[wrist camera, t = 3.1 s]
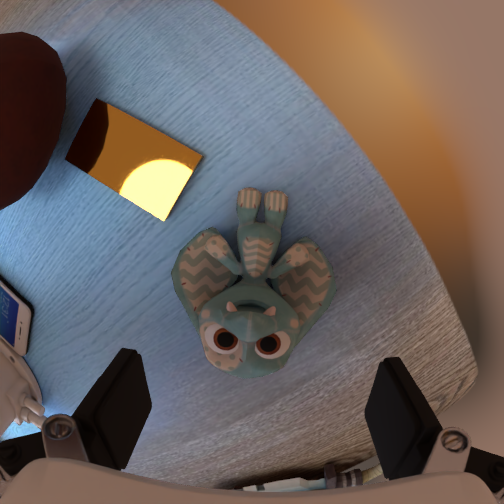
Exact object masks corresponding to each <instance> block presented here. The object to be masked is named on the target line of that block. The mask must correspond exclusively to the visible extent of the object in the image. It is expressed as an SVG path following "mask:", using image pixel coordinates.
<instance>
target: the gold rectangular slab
mask: <svg viewBox="0 0 504 504" xmlns="http://www.w3.org/2000/svg"><path fill="white" fill-rule="evenodd" d="M203 157H204V156H202V155H200V154H199V153H197V152H195V151H193V150H192V149H190V148H188V147H187V146H185V145H183V144H181V143H180V142H178V141H176V140H174V139H173V138H171V137H169V136H167V135H165V134H164V133H162V132H160V131H158V130H156V129H155V128H153V127H151V126H149V125H147V124H145V123H144V122H142V121H140V120H138V119H136V118H134V117H132V116H131V115H129V114H127V113H125V112H123V111H121V110H119V109H117V108H115V107H113V106H112V105H110V104H108V103H106V102H104V101H102V100H100V99H97V98H96V99H95V101H94V102H93V104H92V106H91V108H90V109H89V111H88V113H87V115H86V117H85V118H84V120H83V122H82V124H81V126H80V128H79V130H78V132H77V134H76V136H75V138H74V140H73V142H72V144H71V146H70V148H69V150H68V153H67V155H66V157H65V160H67V161H68V162H70V163H71V164H73V165H75V166H76V167H78V168H79V169H81V170H82V171H84V172H86V173H87V174H89V175H90V176H92V177H94V178H95V179H97V180H98V181H100V182H101V183H103V184H105V185H106V186H108V187H109V188H111V189H113V190H114V191H116V192H117V193H119V194H121V195H122V196H124V197H126V198H127V199H129V200H130V201H132V202H134V203H135V204H137V205H138V206H140V207H142V208H143V209H145V210H147V211H148V212H150V213H151V214H153V215H155V216H156V217H158V218H160V219H161V220H163V221H165V220H166V219H168V217H169V215H170V213H171V211H172V210H173V208H174V206H175V204H176V203H177V201H178V199H179V197H180V196H181V194H182V192H183V190H184V189H185V187H186V185H187V184H188V182H189V180H190V179H191V177H192V175H193V174H194V172H195V170H196V169H197V167H198V165H199V164H200V162H201V161H202V159H203Z"/></svg>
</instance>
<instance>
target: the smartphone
mask: <svg viewBox="0 0 504 504" xmlns="http://www.w3.org/2000/svg"><path fill="white" fill-rule="evenodd" d="M33 314H34V309H33V307H32V305H31V304H30V303H29V302H28V301H27V300H26V299H25V298H24V297H22V296H21V295H20V294H19V293H18V292H17V291H16V290H15V289H14V288H13V287H12V286H11V285H10V284H9V283H8V282H7V281H6V280H4V279H3V278H2V277H1V276H0V337H1V338H2V339H3V340H4V341H5V342H6V343H7V344H8V345H9V346H10V347H11V348H12V349H13V350H15V351H16V352H17V353H18V354H19V355H20V356H25V355H26V354H27V352H28V346H29V339H30V332H31V325H32V319H33Z"/></svg>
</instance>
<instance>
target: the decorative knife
mask: <svg viewBox="0 0 504 504" xmlns="http://www.w3.org/2000/svg"><path fill="white" fill-rule="evenodd" d="M382 473H383V471H382V468H381V464H380V463H379V464H378V465H377V466H375V467H372V468H370V469H368V470H364V471H361V470H360V469H354V470H352V471H349V472H347V473H336V472H335V468H334V464H328V465H325V466H324V478H322V479H321V478H320V477H317V478H315V479H313V480H309V481H307V480H305V479H302V478H300V477H299V478H293V479H287V480H281V481H275V482H271V483H266V484H264V485H260V486H256V485H254V486H248V487H240V486H235V487H234V489H228V490H237V491H257V492H293V491H314V490H327V489H337V488H345V487H353V486H360V485H363V483H365V482H367V481H369V480H370V479H372V478H374V477H376V476H378V475H380V474H382Z"/></svg>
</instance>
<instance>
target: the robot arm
mask: <svg viewBox="0 0 504 504" xmlns="http://www.w3.org/2000/svg"><path fill="white" fill-rule="evenodd" d="M151 408H152V402H151V398H150V393H149V389H148V385H147V381H146V376H145V371H144V367H143V362H142V357H141V355H140V354H138V353H137V351H136V350H133V349H127V348H122V349H121V350H120V351H119V352H118V354H117V355H116V356H115V358H114V359H113V360H112V362H111V363H110V364H109V366H108V367H107V368H106V370H105V371H104V373H103V374H102V375H101V376H100V377H99V378H98V379H97V381H96V382H95V384H94V385H93V386H92V388H91V389H90V391H89V392H88V393H87V395H86V396H85V398H84V399H83V400H82V402H81V403H80V405H79V406H78V407H77V409H76V410H75V412H74V413H73V415H72V416H69V415H67V414H55V415H52V416H50V417H48V418H47V417H46V416H44V415H43V414H44V412H45V407H44V406H42V395H41V391H40V388H39V385H38V383H37V381H36V379H35V377H34V375H33V373H32V371H31V370H30V368H29V367H28V365H27V364H26V362H25V361H24V359H23V358H22V357H21V356H20V355H19V354H18V353H17V352H16V351H15V350H13V349H12V348H11V347H10V346H9V345H8V344H7V343H6V342H5V341H4V340H3V339H2V338H1V337H0V437H1V436H2V435H3V433H4V432H5V431H6V430H7V428H8V427H9V426H10V425H11V423H12V422H13V421H14V422H16V423H17V424H18V425H21V424H22V422H23V421H25V422H27V423H33V424H34V425H36V426H37V427H38V428H39V429H41V432H38V433H34V434H30V435H26V436H21V437H17V438H13V439H8V440H5V441H2V442H1V443H0V504H504V457H501V456H498V455H495V454H491V453H489V452H486V451H483V450H480V449H477V448H474V447H471V438H470V436H469V435H468V433H467V432H465V431H464V430H463V429H460V428H457V427H448V428H445V429H443V428H442V426H441V424H440V423H439V421H438V419H437V417H436V416H435V414H434V412H433V410H432V409H431V407H430V405H429V404H428V402H427V400H426V399H425V397H424V395H423V394H422V392H421V390H420V389H419V388H418V386H417V385H416V383H415V381H414V380H413V378H412V376H411V375H410V373H409V372H408V370H407V368H406V367H405V365H404V364H403V362H402V360H401V359H400V358H399V357H390V358H385V359H384V361H383V362H380V364H379V367H378V370H377V374H376V377H375V380H374V383H373V387H372V390H371V393H370V396H369V399H368V402H367V405H366V408H365V419H366V422H367V425H368V428H369V431H370V434H371V437H372V440H373V443H374V446H375V449H376V452H377V455H378V458H379V461H380V464H381V468H382V471H383V474H384V477H385V478H386V479H387V478H389V481H385V482H379V483H373V484H367V485H360V486H353V487H345V488H337V489H327V490H314V491H293V492H257V491H237V490H224V489H214V488H205V487H197V486H190V485H183V484H177V483H172V482H166V481H161V480H156V479H152V478H147V477H143V476H138V475H134V474H130V473H126V472H122V471H121V469H125V468H126V466H127V464H128V461H129V459H130V457H131V454H132V452H133V450H134V447H135V445H136V443H137V441H138V438H139V436H140V434H141V431H142V429H143V427H144V425H145V422H146V420H147V418H148V416H149V413H150V411H151Z"/></svg>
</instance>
